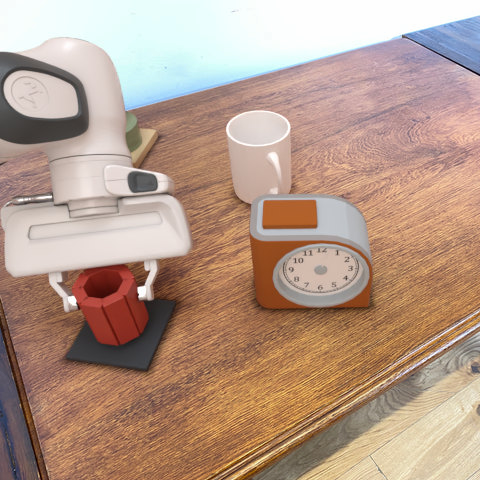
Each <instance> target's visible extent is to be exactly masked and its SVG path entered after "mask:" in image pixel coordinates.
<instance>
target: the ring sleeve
mask: <svg viewBox="0 0 480 480" xmlns="http://www.w3.org/2000/svg"><path fill="white" fill-rule="evenodd" d="M137 287H139V285H138V282H137V280H136V278H135V276H134V274H133V273H132V271H131V270H130V268H129V266H128V265H125V264H118V265H111V266H103V267H95V268H88V269H83V272H80V274H79V275H78V277H77V279H76V280H75V281H74V283H73V284H72V287H71V290H70V291H71V292H72V293H73V295H74V297H75V299H76V301H77V303H78V305H79V307H80V308H81V310H80V311H81V312H82V315H83V316H84V318H85V321H86V320H87V322H88V324H89V326H90V328H91V329H92V331H93V333H94V335H95V337H96V339H97V341H98V342H100V343H102V344H110V345H117V346H119V344H121V345H123V344H125V343H126V342H128V341H130V340H132V339H134V338H136V337H138V336H140V335H139V333H141V334H142V332H143V330H144V328H145V326H146V324H147V321H148V319H149V317H148V316H149V315H148V312H147V310H146V307H145V304H144V302H139V298H138V296H139V294H138V291H137Z"/></svg>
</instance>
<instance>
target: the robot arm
mask: <svg viewBox="0 0 480 480" xmlns="http://www.w3.org/2000/svg"><path fill="white" fill-rule="evenodd" d="M123 94H124V93H123V89H122V85H121V81H120V76H119V74H118V71H117V68H116V66H115V64H114V61H113V60H112V58H111V56H110V55H109V54H108V53H107V51H106V50H104V49H103V48H102V47H101V46H98V45H97V44H95V43H93V42H90V41H88V40H85V39H81V38H76V37H66V36H58V37H52V38H49V39H46V40H45V41H43V42H42V43H41V44H39V45H37V46H35V47H33V48H29V49H26V50H22V51H0V167H1V166H3V165H4V164H6V163H7V162H9V161H11V160H14V159H18V158H20V157H22V156H24V155H27V154H28V153H30V152H41V153H43V154H45V156H46V157H47V162H48V168H49V169H48V170H49V176H50V184H51V190H52V191H46V192H39V193H33V194H27V195H26V194H17V195H15V196H11V199H9V200H7V201H6V202H5V203H4V204H3V205H2V207H1V208H0V225H1V229H2V230H3V232H4V240H3V242H4V243H3V247H4V249H3V252H4V253H3V254H4V265H5V266H4V267H5V270H6V272H7V273H8V274H10V275H11V277H13V278H15V279H18V278H25V277H26V278H27V277H33V276H41V275H48V281H49V282H48V283H49V285H50V286H51V287H52V288H53V290H54V291H55V292H56V293H57V294H58V295H59V297H60V298H62V304H63V310H64V312H65V313H72V312H79V311H82V310H81V308H80V307H79V305H78V303H77V301H76V299H75V297H74V295H73V293H72V291H71V290H70V288H69V287H68V285H67V284H66V283H65V282H68V281H69V272H71V271H78V270H79V271H80V270H86V269H88V268H95V267H103V266H111V265H118V264H133V263H134V264H135V263H141V262H143V266H144V271H146V272H148V271H149V273H148V276H147V278H146V280H145V283H144V284H143V285H138V287H137V291H138V294H139V296H138V298H139V302H143V301H150V300H153V299H155V293H154V284H155V281H156V280H157V277H158V275H159V272H160V270H161V264H160V260H163V259H172V258H179V257H186V256H189V255H190V254H191V253H192V252H193V250H194V249H195V244H194V238H193V233H192V228H191V224H190V221H189V217H188V214H187V211H186V208H185V207H184V205H183V204H182V202H181V201H180V200H179V199H177V198H176V197H175V196H174V195H175V193H176V184H175V181H174V179H173V178H172V177H170V176H169V175H167V174H165V173H161V172H157V171H152V170H148V169H144V168H143V169H142V168H138V169H136V168H133V163H132V157H131V153H130V151H129V149H128V146H127V143H126V138H125V132H126V126H127V119H126V106H125V99H124V95H123ZM11 204H12V205H11Z"/></svg>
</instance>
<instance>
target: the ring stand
mask: <svg viewBox="0 0 480 480" xmlns="http://www.w3.org/2000/svg"><path fill="white" fill-rule="evenodd" d="M125 111H126V110H125ZM126 119H127V126H126V132H125V138H126V143H127V146H128V149H129V151H130V153H131V157H132V163H133V168H136V169H140V166H141V165H142V163H143V161H144V160H145V158H147V155H148V154H149V153H150V151H151V149H152V148H153V146H154V144H155V143H156V141H157V140H158V138H159V134H158V130H157V129H152V128H143V127H142V128H141V127H140V125H139V122H138V121H139V120H138V118H137V116H136V115H135V114H134V113H132V112H130V111H126Z"/></svg>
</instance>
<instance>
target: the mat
mask: <svg viewBox="0 0 480 480" xmlns="http://www.w3.org/2000/svg"><path fill="white" fill-rule="evenodd" d="M143 302H144V304H145V307H146V310H147V312H148V315H149V316H148V317H149V319H148V321H147V324H146V326H145V328H144V330H143V332H142V334H141V333H139V335H140V336H138V337H136V338H134V339H132V340H130V341H128V342H126V343H125V344H123V345H121V344H119V346H117V345H110V344H102V343H100V342H98V341H97V339H96V337H95V335H94V333H93V331H92V329H91V328H90V326H89V324H88V322H87V320H86V319H85V322H84V324H83V326H82V327H81V328H80V331H79V333H78V334H77V336H76V337H75V339H74V341H73V343H72V345H71V346H70V348H69V350H68V352H67V354H66V356H65V358H66V360H67V361H68V360H69V361H75V362H76V361H77V362H82V363H88V364H96V365H103V366H109V367H117V368H122V369H130V370H137V371H144V372H148V371H149V369H150V366H151V364H152V361H153V359H154V357H155V354H156V352H157V350H158V347H159V345H160V343H161V340H162V339H163V336H164V333H165V331H166V329H167V327H168V324H169V322H170V320H171V317H172V315H173V312H174V310H175V307H176V306H177V302H176V301H175V300H166V299H160V298H154V299H153V300H150V301H143Z"/></svg>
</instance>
